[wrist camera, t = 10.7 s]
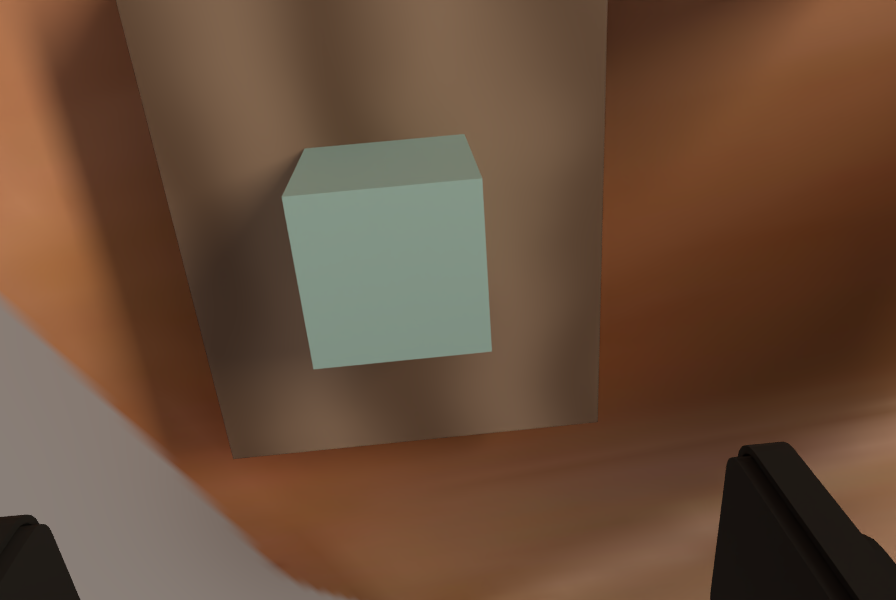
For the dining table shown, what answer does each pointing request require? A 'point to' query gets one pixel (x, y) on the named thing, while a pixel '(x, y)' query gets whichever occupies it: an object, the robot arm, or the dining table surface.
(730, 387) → the dining table surface
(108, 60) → the dining table surface
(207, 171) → the walnut riser
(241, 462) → the dining table surface
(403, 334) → the teal block
